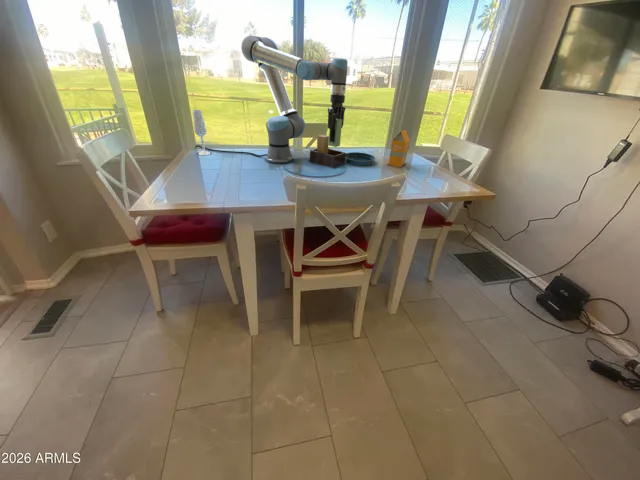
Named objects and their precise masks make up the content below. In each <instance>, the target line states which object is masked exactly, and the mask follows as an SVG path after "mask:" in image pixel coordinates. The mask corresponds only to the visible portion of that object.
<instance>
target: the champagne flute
mask: <svg viewBox="0 0 640 480" xmlns="http://www.w3.org/2000/svg"><path fill="white" fill-rule="evenodd" d="M191 113H192V121H193V132H194V133H195V134H196V135H197V136H198V137H200V141H201V146H202V148H201V149H202V150H201V151H200V152H199V153H198V155H200V156H208V155H210V154H211V152H209V151H208V150H206V149H205V148H206V147H205V142H204V137H205V135H206V134H207V132H208V131H207V126H206V123H205V118H204V115H203V111H202V109H192V112H191Z"/></svg>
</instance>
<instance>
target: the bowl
mask: <svg viewBox="0 0 640 480" xmlns="http://www.w3.org/2000/svg"><path fill="white" fill-rule="evenodd" d="M345 153H346V156H345V163H344V164H347V165H349V166H355V167H371V166H373V165H375V163H376V157H375V156H374V155H372V154H369V153H366V152H360V151H359V152H356V151H352V152H345Z"/></svg>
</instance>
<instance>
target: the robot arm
mask: <svg viewBox="0 0 640 480" xmlns="http://www.w3.org/2000/svg"><path fill="white" fill-rule="evenodd" d="M240 49H241V54H242V55H243V57H244V59H246V60H247V61H249V62H251V63H255V64H257V66H258V68H259V70H260V71H262V72H263V74H264V77H265V79H266V82H267V84H268V87H269V90H270V92H271V94H272V97H273V100H274V102H275V105H276V108H277V110H278V114H279V115H274V116H271V117H269V118H268V120H267V133H268V134H267V136H268V149H267V153H264V154H256V153H254V152H249V151H236V150H235V151H234V150H219V149H214V148H208V147H205V150H206V151H211V152H218V153H229V154H246V155H252V156H254V157H257V158H259V157H266V158H265V159H266V161H267V162H269V163H272V164H288V163H291V162H292V161H293V155H292V152H291V148H290V140H291V139H296V138H300V137H301V136H303V134H304V133H305V130H306V122H305V119H304V118H303V117H302V116H300V115H299V113H298V110H297V109H295V108H294V107H293V104H292V101H291V99H290V96H289V93H288V91H287V88H286V85H285V82H284V80H283V77H282V73H281V72H280V70H281V71H283V72H286V73H289V74H291V75H294V76H297V77H298V78H299V79H301V80H304V81H331V82H330V97H329V100H330V101H329V102H330V103H331V106H330V107H327V129H328V130H329V131H330V142H334V140H335V129H334V128H335V123H336V119H342V127H341V129H343V127H344V121H345V112H346V107H345V106H344V105H343V104H345V101H346V95H345V94H346V89H347V77H348V71H349V70H348V64H349V63H348V59H346V58H340V57H339V58H338V57H337V58H335V57H334V58H333V59H332V62H320V61H310V60H307V59H304V58H301V57H299V56H295V55H292V54H290V53H287V52H285V51H281V50H279V47H278V44H277V43H276V42H275V41H274V40H273V39H272V38H269V37H266V36H263V37H262V36H257V35H246V36H245V37H244V39H242V42H241V45H240ZM194 148H200V149H203V148H202V145H200V144H197V145H195V146H194Z"/></svg>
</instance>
